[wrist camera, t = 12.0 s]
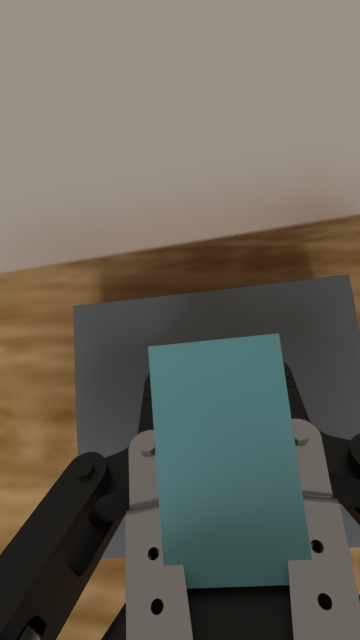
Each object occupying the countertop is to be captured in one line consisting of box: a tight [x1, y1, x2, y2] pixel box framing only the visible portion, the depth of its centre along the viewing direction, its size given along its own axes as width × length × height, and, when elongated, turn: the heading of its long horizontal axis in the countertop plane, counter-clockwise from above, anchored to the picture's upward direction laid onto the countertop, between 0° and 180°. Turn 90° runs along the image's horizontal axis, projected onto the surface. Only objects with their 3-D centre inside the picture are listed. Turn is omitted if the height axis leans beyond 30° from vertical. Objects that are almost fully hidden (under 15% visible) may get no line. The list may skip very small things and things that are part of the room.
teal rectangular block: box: [148, 333, 312, 589], centre depth 13 cm, size 3×5×12 cm, turn 5°
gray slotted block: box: [73, 275, 360, 558], centre depth 18 cm, size 14×12×4 cm
